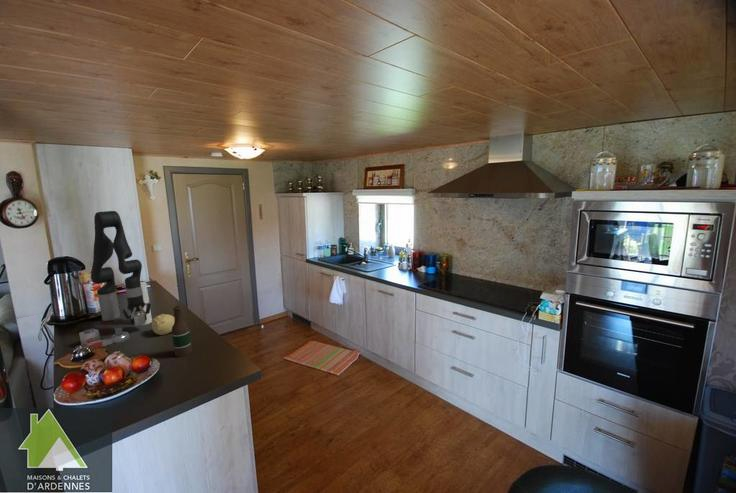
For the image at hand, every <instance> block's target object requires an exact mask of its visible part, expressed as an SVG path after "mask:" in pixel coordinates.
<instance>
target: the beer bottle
mask: <svg viewBox="0 0 736 493" xmlns="http://www.w3.org/2000/svg"><path fill="white" fill-rule="evenodd" d="M172 310H173V317H174V320H175V321H174V325H173V326H172V332H171V336H172V337H171V338H172V342H173V343H172V345H173V350H174V355H175V357H180V358H182V357H185V356H189V355H190V354H191V353H192V351H193V350H192V348H193V347H192V341H191V335H190V334H191V332H190V328H189V326H188V324H187V322H185V321H184V317H183V313H182V306H181V305H177V306H173V308H172Z"/></svg>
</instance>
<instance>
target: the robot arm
mask: <svg viewBox="0 0 736 493" xmlns="http://www.w3.org/2000/svg"><path fill="white" fill-rule="evenodd" d="M93 218H94V241H93V255H92V256H93V262H92V266H91V271H90V272H91V273H90V280H91V282H92V283H93V284H95V285H99V284H103V283H105V284H104V285H103V286H101V287H99V288H98V289H97V290H96V292H97V293H96V294H97V298H98V304H99V310H100V315H101V321H103V322H109V321H114V320H117V319H119V318H120V317H121V313H120V308H119V299H118V294H117V290H116V279H115V271H114V270H113V268H112V267H110V266H107V267H103V266H104V265H105V264H106V263H107V262H108V261H109V260H110V259H111V258H112V256H113V254H114V253H115V255H116V256H117V262H118V265H117V266H118V271H119V272H120V274H122V275H128V274H131V275H130V276H128V277H125V279H124V284H125V295H126V301H127V307H126V308H122V309H121V311H122V313H123V315H124V317H125V319H127V320H129V321H130V324H131V325H133V326H135V325H134V319H133V316H134V314H135V313H136V312H140V311H141V312H142V313H144V316H145V321H146V320H147V318H146V314H148V313H150V310H151V303H150V302H149V303H144V300H143V292H142V288H141V283H140V282H141V275H142V274H141V273H142V269H143V268H142V267H143V265H142V262H141V260H139V259H130V258H131V257H133V252H132V249H131V247H130V245H129V243H128V240H127V237H126V234H125V230H124V226H123V223H122V222H123V221H122V219H121V216H120V214H119V213H118V211H116V210H109V211H97V212H95V214H94V217H93ZM106 228H107V229H108V228H115V236H114V239H113V241H112V240H111V238H109V237H108V235H106V233H105V231H104V230H105V229H106ZM127 259H130V260H127ZM145 305H146V312H145V311H144V310H143V308H144V306H145ZM128 310H129V312H130V313H129V314H128Z"/></svg>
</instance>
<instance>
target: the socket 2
mask: <svg viewBox="0 0 736 493" xmlns="http://www.w3.org/2000/svg"><path fill="white" fill-rule="evenodd" d="M133 319H134V325H133V326H134V327H138V326H143V325H142V324H145V316H144V313H142V312H136V313H135V314H134V316H133ZM145 325H146V324H145Z"/></svg>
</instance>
